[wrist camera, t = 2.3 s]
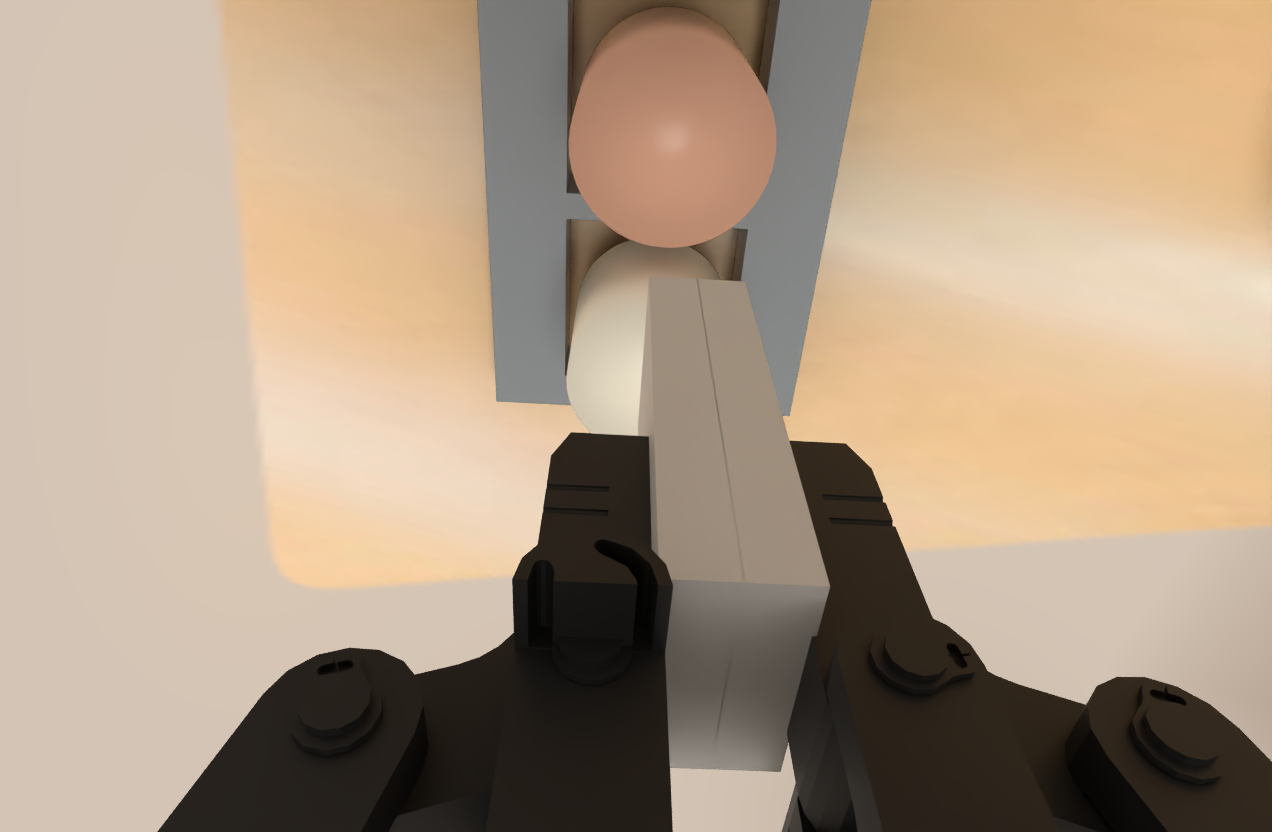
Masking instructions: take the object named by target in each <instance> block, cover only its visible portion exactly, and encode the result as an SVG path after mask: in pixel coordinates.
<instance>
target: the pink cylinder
mask: <svg viewBox="0 0 1272 832" xmlns="http://www.w3.org/2000/svg"><path fill="white" fill-rule="evenodd" d="M776 143H777V139H776V125H775V119H774V114H773V111H772V107H771V104H770V101H769V99H768V97H767V95H766V93H765V90H764V88H763V87H762V85H761V83H760V81H759V80H758V78H757V76H756V75H755V73H754V71H753V70H752V68H751V66H750V65H749V63H748V61H747V59H746V58H745V56H744V54H743V53H742V51H741V49H740V48H739V46H738V45H737V43H736V42H735V40H734V39H733V38H732V37H731V35H730V34H729V33H728V32H727V31H726V30H725V29H724V28H723V27H721V26H720V25H719V24H718V23H717V22H715V21H714V20H712V19H710V18H709V17H707V16H705V15H703V14H701V13H698V12H696V11H693V10H689V9H686V8H679V7H658V8H652V9H648V10H645V11H641V12H638V13H636V14H634V15H632V16H630V17H628V18H626V19H625V20H623V21H622V22H620V23H619V24H617V25H616V26H615V27H614V28H613V29H611V30H610V31H609V32H608V33H607V34H606V36H605V37H604V38H603V39H602V40H601V41H600V43H599V44H598V46H597V47H596V49H595V50H594V52H593V54H592V56H591V58H590V60H589V62H588V65H587V68H586V71H585V74H584V78H583V81H582V85H581V88H580V92H579V95H578V99H577V102H576V106H575V109H574V113H573V116H572V121H571V126H570V133H569V158H570V163H571V168H572V172H573V176H574V179H575V182H576V184H577V187H578V189H579V191H580V193H581V195H582V197H583V198H584V200H585V201H586V203H587V205H588V206H589V207H590V209H591V210H592V211H593V212H594V213H595V215H596V216H597V217H598V218H599V219H600V220H601V221H602V222H603V223H605V224H606V225H607V226H608V227H610V228H611V229H612V230H614V231H615V232H617V233H618V234H620V235H622V236H624V237H626V238H628V239H630V240H633V241H635V242H638V243H641V244H645V245H649V246H654V247H663V248H678V247H686V246H692V245H695V244H699V243H703V242H705V241H708V240H710V239H713V238H715V237H717V236H719V235H721V234H722V233H724V232H726V231H727V230H729V229H730V228H732V227H733V226H734V225H736V224H737V223H738V222H739V221H740V220H741V219H742V218H744V217H745V216H746V215H747V213H748V212H749V211H750V210H751V209H752V208H753V206H754V205H755V204H756V202H757V201H758V199H759V198H760V196H761V195H762V193H763V191H764V189H765V187H766V185H767V183H768V181H769V178H770V175H771V172H772V169H773V165H774V160H775V155H776Z"/></svg>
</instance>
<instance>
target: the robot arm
mask: <svg viewBox="0 0 1272 832" xmlns="http://www.w3.org/2000/svg"><path fill="white" fill-rule="evenodd" d="M892 522H893V520H892V518H891V515H890V513H889V510H888V508H887V505H886V503H883V496H882V493H881V491H880V488H879V486H878V483H877V481H876V478H875V476H874V474H873V471H872V469H871V468H870V467H869V466H868V465H867V464H866V463H865V462H864V461H863V460H862V459H861V458H860V457H859V456H858V455H857V454H856V453H855V452H854V451H853V450H852V449H851V448H850V447H849V446H848V445H847V444H843V443H823V442H804V441H789V438H788V434H787V431H786V427H785V423H784V420H783V416H782V413H781V409H780V406H779V402H778V398H777V395H776V391H775V388H774V384H773V380H772V377H771V373H770V370H769V366H768V363H767V359H766V355H765V352H764V348H763V345H762V341H761V338H760V334H759V330H758V327H757V323H756V320H755V316H754V313H753V309H752V305H751V302H750V298H749V295H748V291H747V288H746V284H745V282H744V281H727V280H709V279H692V278H674V277H657V276H649V284H648V297H647V310H646V324H645V337H644V350H643V364H642V377H641V390H640V404H639V417H638V436H632V435H612V434H592V433H572V432H571V433H570V434H569V436H568V437H567V438H566V439H565V440H564V441H563V443H562V444H561V445H560V446H559V447H558V448H557V450H556V451H555V452H554V453H553V454H552V455H551V461H550V467H549V474H548V480H547V489H546V494H545V500H544V507H543V514H542V520H541V527H540V533H539V540H538V545H537V546H536V547H534V548H533V549H532V550H531V551H530V552H528V553H527V554H526V555H525V556H524V557H523V558H522V559H521V561H520V564H519V566H518V568H517V570H516V572H515V574H514V577H513V579H512V585H513V616H514V633H513V634H512V635H511V636H510V637H509V638H508V639H506V640H505V641H504V642H503V643H502V644H501V645H500V646H498V647H497V648H495V649H493V650H491V651H490V652H488V653H486V654H484V655H483V656H481V657H479V658H476V659H473V660H470V661H467V662H464V663H461V664H458V665H454V666H450V667H446V668H441V669H437V670H433V671H428V672H424V673H420V674H416V675H414V674H413V672H412V671H411V670H410V669H409V667H408V666H407V665H406V664H405V662H404V661H402V660H400V659H397V658H395V657H393V656H391V655H389V654H387V653H385V652H382V651H380V650H372V649H359V648H346V649H342V650H338V651H333V652H328V653H324V654H319V655H316V656H315V657H313V658H311V659H309V660H307V661H305V662H303V663H301V664H300V665H298V666H295V667H294V668H292V669H290V670H288V671H287V672H286V673H285V674H284V675H283V676H281V677H280V678H279V679H278V680H277V681H276V682H275V683H274V684H273V685H272V686H271V687H270V688H269V689H268V690H267V691H266V692H265V693H264V694H263V695H262V696H261V698H260V699H259V700H258V701H257V703H256V704H255V705H254V707H253V708H252V709H251V711H250V712H249V713H248V715H247V716H246V717H245V718H244V720H243V721H242V722H241V724H240V725H239V726H238V728H237V729H236V730H235V732H234V733H233V734H232V735H231V737H230V738H229V739H228V741H227V742H226V743H225V745H224V746H223V747H222V748H221V750H220V751H219V752H218V754H217V755H216V756H215V758H214V759H213V760H212V761H211V763H210V764H209V765H208V767H207V768H206V769H205V771H204V772H203V773H202V774H201V776H200V777H199V779H198V780H197V781H196V782H195V784H194V785H193V786H192V788H191V789H190V790H189V791H188V793H187V794H186V795H185V797H184V798H183V799H182V801H181V802H180V803H179V804H178V806H177V807H176V808H175V810H174V811H173V812H172V814H171V815H170V816H169V817H168V819H167V820H166V821H165V823H164V824H163V825H162V827H161V828H160V829H159V831H158V832H673V830H672V807H671V784H670V783H671V782H670V768H693V769H719V770H748V771H773V772H780V771H781V767H782V764H783V760H784V756H785V753H786V749H787V745H788V742H789V747H790V752H791V758H792V764H793V769H794V775H795V780H796V784H795V788H794V791H793V795H792V798H791V802H790V805H789V809H788V812H787V815H786V819H785V822H784V826H783V829H782V832H1272V762H1271V761H1270V759H1268V758H1267V757H1266V756H1265V754H1264V753H1263V752H1262V751H1260V749H1259V748H1257V746H1256V745H1255V744H1254V743H1253V742H1252V741H1251V740H1250V739H1249V738H1248V737H1247V736H1246V735H1245V734H1244V733H1243V732H1242V731H1241V730H1240V729H1239V728H1238V727H1237V726H1235V725H1234V724H1233V723H1232V722H1231V721H1229V720H1228V719H1227V718H1226V717H1224V716H1223V715H1222V714H1221V713H1219V712H1218V711H1217V710H1216V709H1215V708H1214V707H1212V706H1211V705H1210V704H1208V703H1206V702H1205V701H1203V700H1201V699H1199V698H1197V697H1195V696H1193V695H1192V694H1190V693H1188V692H1186V691H1184V690H1182V689H1180V688H1179V687H1176V686H1173V685H1170V684H1166V683H1163V682H1159V681H1156V680H1152V679H1149V678H1146V677H1116V678H1114V679H1112V680H1109V681H1107V682H1105V683H1103V684H1101V685H1098V686H1097V687H1096V689H1095V690H1094V692H1093V694H1092V696H1091V697H1090V699H1089V701H1088V703H1087V704H1086V705H1084V704H1081V703H1078V702H1075V701H1071V700H1068V699H1065V698H1062V697H1058V696H1055V695H1052V694H1048V693H1045V692H1042V691H1038V690H1035V689H1032V688H1028V687H1025V686H1022V685H1019V684H1016V683H1013V682H1011V681H1008V680H1006V679H1003V678H1001V677H998V676H995V675H994V674H992V673H990V672H988V671H987V669H986V667H985V665H984V664H983V662H982V661H981V659H980V658H979V656H978V655H977V654H976V652H975V651H974V649H973V648H972V646H971V645H970V644H969V643H968V642H967V641H966V640H965V639H963V638H962V637H961V636H959V635H958V634H957V633H956V632H955V631H953V630H952V629H951V628H950V627H949V626H947V625H945V624H943V623H941V622H939V621H937V620H934V619H933V617H932V615H931V613H930V611H929V608H928V606H927V603H926V601H925V598H924V596H923V593H922V591H921V589H920V586H919V584H918V581H917V579H916V576H915V574H914V572H913V569H912V567H911V564H910V562H909V559H908V557H907V554H906V552H905V549H904V547H903V544H902V542H901V540H900V537H899V535H898V532H897V530H896V527H893V526H892Z"/></svg>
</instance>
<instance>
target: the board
mask: <svg viewBox="0 0 1272 832" xmlns="http://www.w3.org/2000/svg"><path fill="white" fill-rule="evenodd" d="M477 4H478V25H479V46H480V67H481V88H482V108H483V129H484V150H485V171H486V192H487V213H488V234H489V255H490V276H491V297H492V317H493V338H494V359H495V380H496V401H498V402H518V403H539V404H559V405H571V403H570V401H569V397H568V392H567V382H566V379H567V369H568V362H569V355H570V349H569V306H570V220H571V219H578V220H595V221H601V220H600V219H599V218H598V217H597V216H596V215H595V213H594V212H593V211H592V210H591V209H590V207H589V206H588V205H587V203H586V201H585V200H584V198H583V197H582V195H581V193H580V191H579V189H578V187H577V184H576V182H575V179H574V176H573V174H571V163H570V158H569V133H570V126H571V121H572V47H573V0H477ZM870 4H871V0H769V6H768V14H767V21H766V29H765V36H764V44H763V51H762V59H761V66H760V74H759V81H760V83H761V85H762V87H763V88H764V90H765V93H766V95H767V97H768V99H769V101H770V104H771V107H772V111H773V114H774V119H775V125H776V139H777V143H776V155H775V160H774V165H773V169H772V172H771V175H770V178H769V181H768V183H767V185H766V187H765V189H764V191H763V193H762V195H761V196H760V198H759V199H758V201H757V202H756V204H755V205H754V206H753V208H752V209H751V210H750V211H749V212H748V213H747V215H746V216H745V217H744V218H742V219H741V220H740V221H739V222H738V223H737V224H736V225H734V226H733V227H732V228H738V229H739V231H738V238H737V246H736V253H735V261H734V268H733V276H732V281H744V282H745V284H746V288H747V291H748V295H749V298H750V302H751V305H752V309H753V313H754V316H755V320H756V323H757V327H758V330H759V334H760V338H761V341H762V345H763V348H764V352H765V355H766V359H767V363H768V366H769V370H770V373H771V377H772V380H773V384H774V388H775V391H776V395H777V398H778V402H779V406H780V409H781V413H782V416H790V411H791V406H792V401H793V396H794V390H795V385H796V380H797V375H798V370H799V365H800V360H801V355H802V350H803V345H804V340H805V335H806V329H807V324H808V319H809V314H810V309H811V304H812V299H813V294H814V289H815V284H816V279H817V274H818V269H819V263H820V258H821V253H822V248H823V243H824V238H825V233H826V228H827V223H828V218H829V213H830V208H831V202H832V197H833V192H834V187H835V182H836V177H837V172H838V167H839V162H840V157H841V152H842V147H843V141H844V136H845V131H846V126H847V121H848V116H849V111H850V106H851V101H852V96H853V91H854V86H855V80H856V75H857V70H858V65H859V60H860V55H861V50H862V45H863V40H864V35H865V30H866V25H867V19H868V14H869V9H870Z"/></svg>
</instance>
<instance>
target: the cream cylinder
mask: <svg viewBox="0 0 1272 832" xmlns="http://www.w3.org/2000/svg"><path fill="white" fill-rule="evenodd" d="M649 276H657V277H674V278H692V279H709V280H720V278H719V276H718V274H717V272H716V271H715V269H714V268H713V266H712V265H711V264H710V263H709V261H708V260H707V259H706V258H705V257H704V256H702V255H701V254H700V253H699V252H697V251H696V250H694V249H693V248H691V247H689V246H686V247H678V248H663V247H654V246H649V245H645V244H641V243H638V242H635V241H633V240H630V241H626V242H624V243H621V244H619V245H617V246H615V247H613V248H611V249H610V250H608V251H607V252H605V253H604V254H603V255H601V256H600V257H599V258H598V259H597V260H596V261H595V262H594V263H593V265H592V266H591V267H590V268H589V270H588V271H587V273H586V275H585V277H584V279H583V281H582V284H581V286H580V291H579V295H578V301H577V308H576V315H575V322H574V328H573V335H572V342H571V349H570V355H569V362H568V369H567V379H566V382H567V392H568V397H569V401H570V403H571V406H572V408H573V410H574V412H575V414H576V416H577V417H578V419H579V420H580V421H581V423H582V424H583V425H584V426H585V427H586V428H587V429H588V430H589V431H590V432H591V433H592V434H612V435H632V436H638V417H639V404H640V390H641V377H642V364H643V350H644V337H645V324H646V310H647V297H648V284H649Z"/></svg>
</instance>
